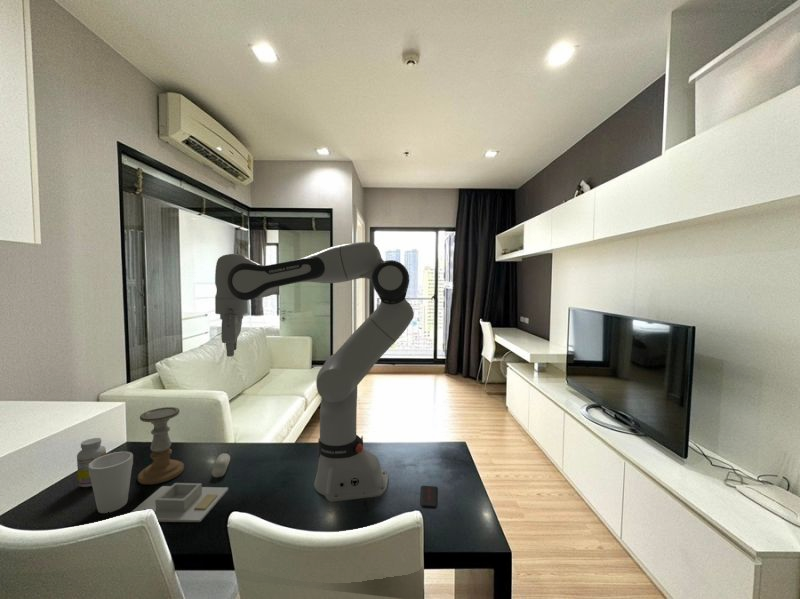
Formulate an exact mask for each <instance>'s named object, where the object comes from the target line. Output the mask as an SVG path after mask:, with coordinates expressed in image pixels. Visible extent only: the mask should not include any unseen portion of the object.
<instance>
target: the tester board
mask: <svg viewBox="0 0 800 599" xmlns="http://www.w3.org/2000/svg"><path fill="white" fill-rule="evenodd" d="M228 491H229V487H220V486H219V487H215V486H214V487H213V486H203V483H202V482H199V483H198V482H197V483H194V482H193V483H192V482H191V483H190V482H175V483H173V484H171V485H170V486H169V485H161V487H159V488H158V489H156V490H155V491H154V492H153V493H152V494H151V495H150V496H148V497H146V499H145V500H144V501H142V502H141V503H140V504H139V505H138V506H137V507H136V508H134V509H133V510H132V511H131V512H134V511H138V510H144V509H153V510H154V511H155V514H156V515H157V518H158V521H159V522H158V523H200V522H202V520H204V518H205V517H207V515H208V514H209V512H210V511H211V510H213V508H214V507H215V505H217V503H218V502H219V501H220V500H221V499H222V498H223V497H224V496H225V495H226V493H227V492H228Z"/></svg>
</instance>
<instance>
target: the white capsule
mask: <svg viewBox="0 0 800 599" xmlns="http://www.w3.org/2000/svg"><path fill="white" fill-rule="evenodd" d="M230 460H231V456H230V455H229V454H228V453H221V454H219V455H218V456H217V459H216V460H215V463H214V465H213V467H212V470H211V475H212V477H214V478H221V477H223V476H224V475H225V474H226V472H227V469H228V467H229V463H230Z"/></svg>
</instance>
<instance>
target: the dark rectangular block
mask: <svg viewBox="0 0 800 599" xmlns="http://www.w3.org/2000/svg"><path fill="white" fill-rule="evenodd" d="M419 493H420V494H419V506H421V508H430V509H431V508H433V509H437V507H438V505H439V504H438V501H439V499H438V498H439V488H438V487H437V486H435V485H421V486H420V492H419Z"/></svg>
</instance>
